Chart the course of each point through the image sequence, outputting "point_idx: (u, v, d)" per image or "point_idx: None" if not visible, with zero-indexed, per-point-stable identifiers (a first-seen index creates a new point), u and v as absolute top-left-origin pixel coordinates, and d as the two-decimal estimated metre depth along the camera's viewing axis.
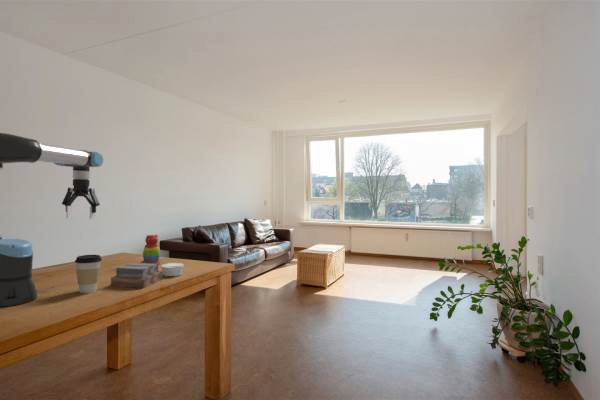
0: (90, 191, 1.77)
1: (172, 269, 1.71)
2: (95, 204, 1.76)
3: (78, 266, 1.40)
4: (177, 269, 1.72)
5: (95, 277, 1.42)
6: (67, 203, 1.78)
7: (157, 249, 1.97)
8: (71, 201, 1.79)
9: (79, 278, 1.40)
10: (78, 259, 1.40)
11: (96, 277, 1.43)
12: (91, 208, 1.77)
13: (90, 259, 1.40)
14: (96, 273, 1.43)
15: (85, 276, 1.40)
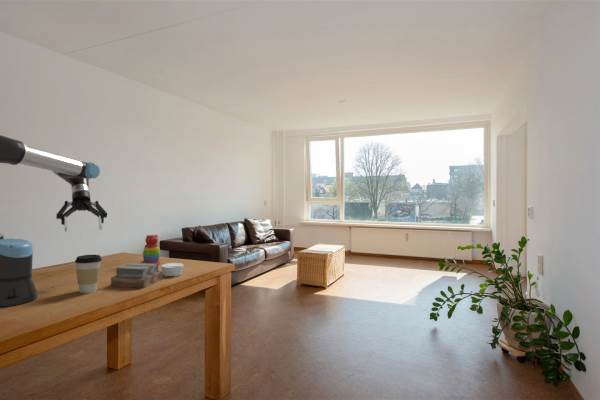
0: (97, 203, 1.66)
1: (172, 269, 1.71)
2: (106, 213, 1.64)
3: (78, 266, 1.40)
4: (177, 269, 1.72)
5: (95, 277, 1.42)
6: (65, 214, 1.54)
7: (157, 249, 1.97)
8: (68, 214, 1.56)
9: (79, 278, 1.40)
10: (78, 259, 1.40)
11: (96, 277, 1.43)
12: (100, 217, 1.61)
13: (90, 259, 1.40)
14: (96, 273, 1.43)
15: (85, 276, 1.40)
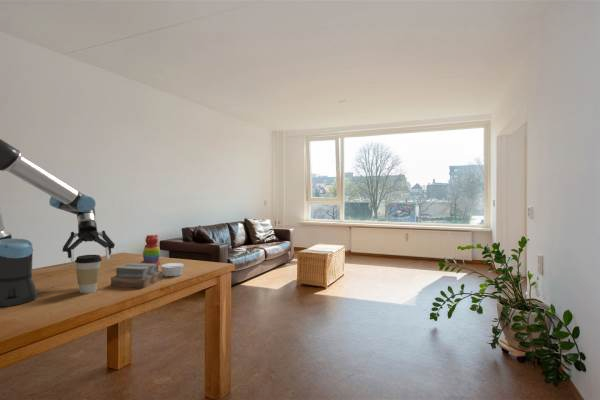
0: (104, 233, 1.60)
1: (172, 269, 1.71)
2: (113, 244, 1.59)
3: (78, 266, 1.40)
4: (177, 269, 1.72)
5: (95, 277, 1.42)
6: (71, 246, 1.48)
7: (157, 249, 1.97)
8: (75, 246, 1.50)
9: (79, 278, 1.40)
10: (78, 259, 1.40)
11: (96, 277, 1.43)
12: (108, 248, 1.56)
13: (90, 259, 1.40)
14: (96, 273, 1.43)
15: (85, 276, 1.40)
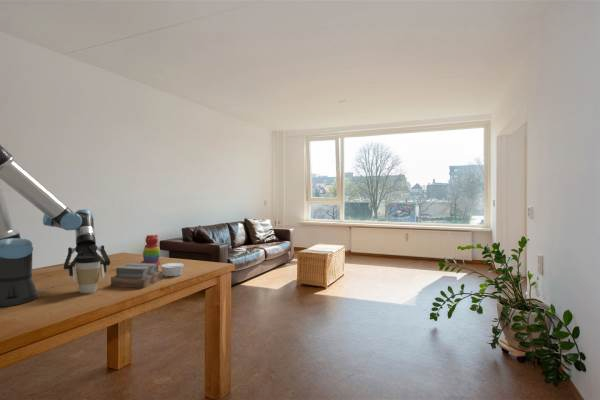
0: (102, 248, 1.53)
1: (172, 269, 1.71)
2: (109, 260, 1.50)
3: (78, 266, 1.40)
4: (177, 269, 1.72)
5: (95, 277, 1.42)
6: (72, 264, 1.42)
7: (157, 249, 1.97)
8: None
9: (79, 278, 1.40)
10: (78, 259, 1.40)
11: (96, 277, 1.43)
12: (103, 265, 1.47)
13: (90, 259, 1.40)
14: (96, 273, 1.43)
15: (85, 276, 1.40)
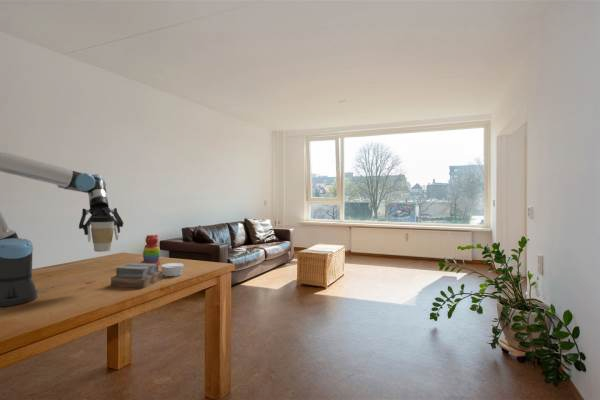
0: (115, 211, 1.56)
1: (172, 269, 1.71)
2: (122, 222, 1.53)
3: (93, 225, 1.43)
4: (177, 269, 1.72)
5: (109, 237, 1.46)
6: (87, 223, 1.45)
7: (157, 249, 1.97)
8: (90, 222, 1.47)
9: (94, 237, 1.44)
10: (93, 218, 1.43)
11: (110, 237, 1.47)
12: (116, 226, 1.51)
13: (104, 218, 1.44)
14: (110, 233, 1.47)
15: (100, 235, 1.44)
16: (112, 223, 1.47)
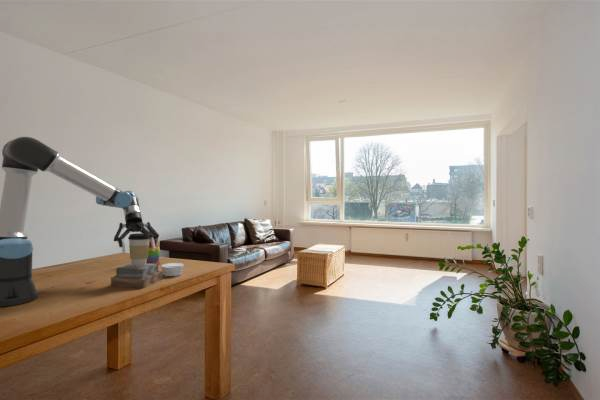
0: (149, 224, 1.68)
1: (172, 269, 1.71)
2: (158, 234, 1.66)
3: (131, 242, 1.55)
4: (177, 269, 1.72)
5: (145, 253, 1.58)
6: (122, 236, 1.57)
7: (157, 249, 1.97)
8: (124, 236, 1.59)
9: (132, 253, 1.56)
10: (131, 236, 1.55)
11: (146, 253, 1.59)
12: (153, 239, 1.64)
13: (142, 236, 1.56)
14: (146, 249, 1.58)
15: (138, 252, 1.56)
16: (148, 240, 1.59)
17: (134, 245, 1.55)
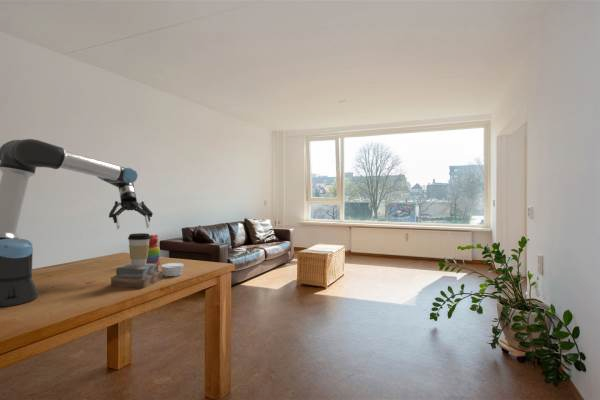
0: (143, 203, 1.78)
1: (172, 269, 1.71)
2: (151, 213, 1.77)
3: (131, 242, 1.55)
4: (177, 269, 1.72)
5: (145, 253, 1.58)
6: (116, 213, 1.67)
7: (157, 249, 1.97)
8: (119, 213, 1.69)
9: (132, 253, 1.56)
10: (131, 236, 1.55)
11: (146, 253, 1.59)
12: (147, 216, 1.74)
13: (142, 236, 1.56)
14: (146, 249, 1.58)
15: (138, 252, 1.56)
16: (148, 240, 1.59)
17: (134, 245, 1.55)
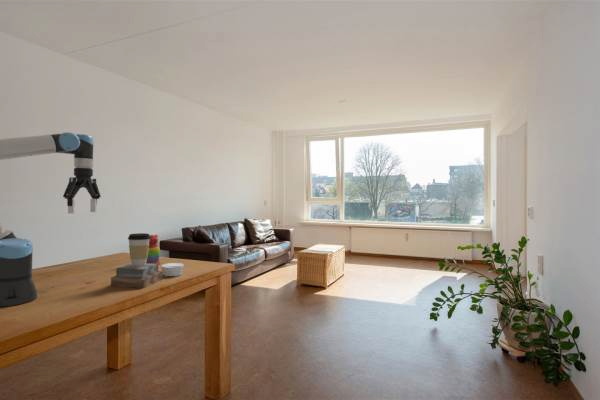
0: (95, 182, 1.64)
1: (172, 269, 1.71)
2: (100, 196, 1.67)
3: (131, 242, 1.55)
4: (177, 269, 1.72)
5: (145, 253, 1.58)
6: (73, 196, 1.51)
7: (157, 249, 1.97)
8: None
9: (132, 253, 1.56)
10: (131, 236, 1.55)
11: (146, 253, 1.59)
12: None
13: (142, 236, 1.56)
14: (146, 249, 1.58)
15: (138, 252, 1.56)
16: (148, 240, 1.59)
17: (134, 245, 1.55)
